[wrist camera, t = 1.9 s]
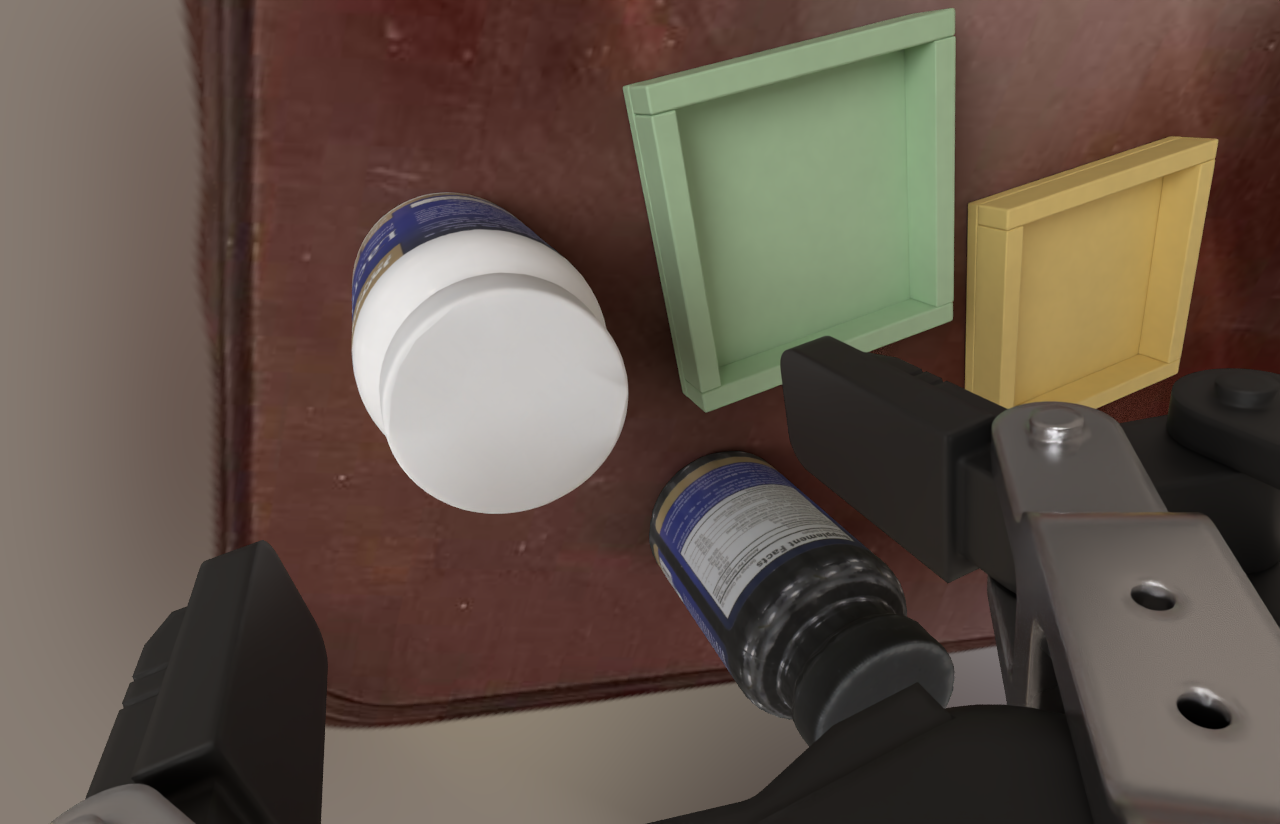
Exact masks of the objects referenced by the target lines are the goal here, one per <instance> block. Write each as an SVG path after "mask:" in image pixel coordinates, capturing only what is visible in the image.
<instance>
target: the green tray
mask: <svg viewBox="0 0 1280 824" xmlns="http://www.w3.org/2000/svg"><path fill="white" fill-rule="evenodd" d="M954 34H955V9H954V8H948V9H942V10H935V11H928V12H922V13H914V14H910V15H906V16H902V17H898V18H894V19H890V20H886V21H882V22H878V23H874V24H870V25H866V26H862V27H858V28H854V29H850V30H846V31H842V32H838V33H834V34H830V35H826V36H822V37H818V38H814V39H810V40H806V41H802V42H798V43H794V44H790V45H786V46H782V47H778V48H774V49H770V50H766V51H762V52H758V53H754V54H750V55H746V56H742V57H738V58H734V59H730V60H726V61H722V62H718V63H714V64H710V65H706V66H702V67H698V68H694V69H690V70H686V71H682V72H678V73H674V74H670V75H666V76H662V77H658V78H654V79H650V80H646V81H642V82H638V83H634V84H630V85H626V86H624V87H623V92H624V97H625V102H626V107H627V112H628V117H629V122H630V127H631V132H632V137H633V142H634V147H635V153H636V158H637V163H638V168H639V173H640V178H641V183H642V188H643V193H644V198H645V203H646V208H647V214H648V219H649V224H650V229H651V234H652V239H653V244H654V249H655V254H656V259H657V264H658V269H659V275H660V280H661V285H662V290H663V295H664V300H665V305H666V310H667V315H668V320H669V325H670V330H671V336H672V341H673V346H674V351H675V356H676V361H677V366H678V371H679V376H680V381H681V386H682V391H683V394H684V395H686V396H687V397H689V398H690V399H691V400H692V401H693V402H694V403H695V404H696V405H697V406H699V407H700V408H701V409H702V410H703V411H704V412H710V411H712V410H715V409H718V408H720V407H723V406H726V405H728V404H731V403H734V402H736V401H739V400H742V399H744V398H747V397H750V396H752V395H755V394H758V393H760V392H763V391H766V390H768V389H771V388H774V387H776V386H779V385H782V378H781V370H780V360H781V355H782V353H783V352H784V351H785V350H787V349H790V348H793V347H795V346H798V345H801V344H804V343H806V342H809V341H812V340H815V339H817V338H820V337H823V336H831V337H833V338H836V339H838V340H840V341H842V342H844V343H846V344H848V345H850V346H852V347H854V348H856V349H858V350H860V351H863V352H870V351H872V350H875V349H878V348H880V347H883V346H886V345H888V344H891V343H894V342H896V341H899V340H902V339H904V338H907V337H910V336H912V335H915V334H918V333H920V332H923V331H926V330H928V329H931V328H934V327H936V326H939V325H942V324H944V323H947V322H950V321H952V320H953V303H952V301H953V300H954V178H955V49H956V37H955V36H953V35H954Z"/></svg>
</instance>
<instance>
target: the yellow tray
mask: <svg viewBox="0 0 1280 824" xmlns="http://www.w3.org/2000/svg"><path fill="white" fill-rule="evenodd" d="M1217 145H1218V139H1210V138H1189V137H1182V138H1181V137H1174V136H1170V137H1167V138H1164V139H1161V140H1158V141H1155V142H1152V143H1149V144H1146V145H1143V146H1140V147H1137V148H1134V149H1131V150H1128V151H1125V152H1122V153H1119V154H1116V155H1113V156H1110V157H1107V158H1104V159H1101V160H1098V161H1095V162H1092V163H1089V164H1086V165H1083V166H1079V167H1076V168H1073V169H1070V170H1067V171H1064V172H1061V173H1058V174H1055V175H1052V176H1049V177H1046V178H1043V179H1040V180H1037V181H1034V182H1031V183H1028V184H1025V185H1022V186H1019V187H1016V188H1013V189H1010V190H1007V191H1004V192H1001V193H998V194H995V195H992V196H989V197H986V198H983V199H980V200H977V201H974V202H971V203H969V204H968V236H967V296H966V355H965V389H966V390H968V391H970V392H972V393H974V394H976V395H979V396H981V397H983V398H985V399H987V400H989V401H992V402H994V403H996V404H998V405H1000V406H1002V407H1004V408H1007V409H1009V408H1012V407H1015V406H1018V405H1022V404H1026V403H1032V402H1044V401H1056V402H1068V403H1075V404H1080V405H1084V406H1088V407H1091V408H1094V409H1096V408H1099V407H1101V406H1103V405H1106V404H1108V403H1110V402H1113V401H1115V400H1117V399H1119V398H1122V397H1124V396H1126V395H1129V394H1131V393H1133V392H1136V391H1138V390H1140V389H1143V388H1145V387H1147V386H1149V385H1152V384H1154V383H1156V382H1159V381H1161V380H1163V379H1166V378H1168V377H1170V376H1172V375H1175V374H1177V373H1178V368H1179V362H1180V357H1181V352H1182V347H1183V341H1184V335H1185V330H1186V324H1187V318H1188V313H1189V307H1190V301H1191V295H1192V290H1193V284H1194V278H1195V273H1196V267H1197V261H1198V256H1199V250H1200V244H1201V238H1202V233H1203V227H1204V221H1205V216H1206V210H1207V204H1208V199H1209V193H1210V187H1211V181H1212V176H1213V170H1214V164H1215V160H1214V158H1215V157H1216V151H1217Z"/></svg>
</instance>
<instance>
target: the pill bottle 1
mask: <svg viewBox="0 0 1280 824" xmlns="http://www.w3.org/2000/svg"><path fill="white" fill-rule="evenodd" d="M352 362H353V369H354V375H355V379H356V383H357V386H358V390H359V393H360V396H361V399H362V401H363V403H364V405H365V407H366V409H367V411H368V413H369V414H370V416H371V418H372V419H373V421H374V422H375V423H376V425H377V426H378V427H379V429H380V430H381V431H382V432H383V434H384V435H385V436H386V437H387V440H388V443H389V446H390V448H391V451H392V453H393V455H394V456H395V458H396V460H397V462H398V463H399V465H400V466H401V468H402V469H403V470H404V471H405V473H406V474H407V475H408V476H409V477H410V478H411V479H412V480H413V481H414V482H415V483H416V484H417V485H418V486H419V487H420V488H422V489H423V490H424V491H426V492H427V493H429V494H430V495H432V496H433V497H435V498H437V499H439V500H441V501H443V502H445V503H447V504H449V505H451V506H454V507H457V508H460V509H463V510H468V511H473V512H480V513H489V514H503V513H514V512H521V511H525V510H530V509H533V508H537V507H540V506H543V505H545V504H548V503H550V502H552V501H554V500H556V499H558V498H560V497H562V496H564V495H566V494H567V493H569V492H571V491H572V490H574V489H575V488H577V487H578V486H580V485H581V484H582V483H583V482H585V481H586V480H587V479H588V478H589V477H590V476H591V475H592V474H593V473H594V472H595V471H596V470H597V469H598V468H599V467H600V466H601V465H602V463H603V462H604V461H605V460H606V458H607V457H608V455H609V454H610V453H611V451H612V449H613V447H614V446H615V444H616V442H617V440H618V438H619V435H620V433H621V431H622V428H623V425H624V421H625V417H626V413H627V406H628V380H627V374H626V370H625V366H624V362H623V359H622V356H621V354H620V351H619V349H618V347H617V345H616V344H615V342H614V340H613V338H612V336H611V335H610V334H609V332H608V331H607V329H606V325H605V321H604V317H603V314H602V311H601V309H600V306H599V304H598V301H597V299H596V297H595V296H594V294H593V292H592V290H591V288H590V287H589V285H588V284H587V282H586V281H585V279H584V278H583V276H582V275H581V274H580V273H579V272H578V271H577V270H576V269H575V268H574V266H573V265H572V264H571V263H570V262H569V261H568V260H567V259H565V258H564V257H563V256H562V255H561V254H559V253H558V252H557V251H556V250H555V249H553V248H552V247H551V246H549V245H548V244H547V243H546V242H545V241H543V240H542V239H541V238H540V237H539V236H537V235H536V234H535V233H534V232H533V231H532V230H531V229H529V228H528V227H527V226H526V225H524V224H523V223H522V222H521V221H520V220H518V219H517V218H516V217H514V216H513V215H512V214H511V213H509V212H508V211H506V210H505V209H503V208H501V207H500V206H498V205H496V204H494V203H492V202H490V201H487V200H485V199H482V198H479V197H476V196H472V195H467V194H461V193H449V192H445V193H433V194H428V195H423V196H419V197H417V198H414V199H411V200H409V201H407V202H404V203H402V204H401V205H399V206H397V207H396V208H394V209H392V210H391V211H390V212H388V213H387V214H386V215H385V216H383V217H382V218H381V219H380V220H379V221H378V222H377V223H376V224H375V225H374V227H373V228H372V229H371V230H370V232H369V233H368V235H367V236H366V238H365V239H364V241H363V243H362V245H361V248H360V250H359V252H358V255H357V258H356V261H355V266H354V271H353V280H352Z"/></svg>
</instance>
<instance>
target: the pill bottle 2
mask: <svg viewBox="0 0 1280 824" xmlns="http://www.w3.org/2000/svg"><path fill="white" fill-rule="evenodd" d="M649 541H650V546H651V549H652V554H653V556H654V558H655V560H656V562H657V564H658V565H659V566H660V567H661V569H662V571H663V573H664V574H665V576H666V577H667V579H668V580H669V582H670V583H671V585H672V586H673V588H674V589H675V591H676V592H677V594H678V595H679V597H680V598H681V600H682V601H683V603H684V604H685V606H686V607H687V609H688V610H689V612H690V613H691V615H692V616H693V618H694V619H695V621H696V622H697V624H698V625H699V627H700V628H701V630H702V631H703V633H704V634H705V636H706V637H707V639H708V640H709V642H710V643H711V645H712V646H713V648H714V649H715V651H716V652H717V654H718V656H719V657H720V659H721V660H722V662H723V663H724V665H725V666H726V668H727V669H728V671H729V672H730V674H731V675H732V677H733V678H734V680H735V681H736V683H737V684H738V686H739V687H740V689H741V690H742V691H743V693H744V694H745V696H746V697H747V698H749V699H750V700H751V702H752V703H753V704H755V705H756V706H757V707H758V708H760V709H761V710H764V711H765V712H768V713H770V714H772V715H775V716H777V717H780V718H787V719H793V721H794V723H795V725H796V728H797V730H798V731H799V733H800V735H801V736H802V738H803V739H804V740H805V742H806V743H807V744H808V746H809V747H810V746H811V745H812V744H813V743H814V742H815V741H816V740H818V739H819V738H820V737H821V736H822V735H823V734H824V733H825V732H826V731H827V730H828V729H829V728H831V727H832V726H833V725H835V724H837V723H839V722H840V721H842V720H844V719H846V718H848V717H850V716H852V715H854V714H856V713H858V712H860V711H862V710H864V709H866V708H868V707H870V706H872V705H874V704H876V703H877V702H879V701H881V700H883V699H885V698H887V697H889V696H891V695H893V694H895V693H897V692H899V691H901V690H903V689H905V688H907V687H909V686H911V685H913V684H914V683H916V682H919V683H920V684H921V685H922V686H923V687H924V688H925V690H926V691H927V692H928V693H929V694H930V695H931V696H932V697H933V698H934V699H935V700H936V701H937V702H938V703H939V704H940V705H941V706H942V707H943V708H944V709H945V708H946V706H947V704H948V702H949V699H950V697H951V694H952V691H953V683H954V666H953V663H952V660H951V658H950V656H949V654H948V653H947V651H946V650H945V648H944V647H943V646H942V645H941V644H940V643H939V642H938V641H936V640H935V639H934V638H933V637H932V636H931V635H930V634H929V633H928V632H927V631H926V630H925V629H924V628H923V627H922V626H921V625H920V624H919V623H918V622H916V621H914V620H912V619H910V618H908V617H907V608H906V600H905V597H904V593H903V590H902V588H901V584H900V582H899V581H898V579H897V578H896V576H895V575H894V573H893V572H892V571H891V570H890V568H889V567H888V566H887V565H886V564H885V563H884V562H883V561H882V560H881V559H880V558H878V557H877V556H876V555H874V554H873V553H872V552H871V551H870V550H869V549H867V548H866V547H865V546H864V545H863V544H862V543H861V542H859V541H858V540H857V539H856V538H855V537H853V536H852V535H851V534H850V533H849V532H848V531H846V530H845V529H844V528H843V527H842V526H841V525H840V524H838V523H837V522H836V521H835V520H834V519H833V518H831V517H830V516H829V515H828V514H827V513H826V512H825V511H824V510H822V509H821V508H820V507H819V506H818V505H817V504H815V503H814V502H813V501H812V500H811V499H810V498H808V497H807V496H806V495H805V494H804V493H803V492H801V491H800V490H799V489H798V488H797V487H796V486H794V485H793V484H792V483H791V482H790V481H789V480H787V479H786V478H785V477H784V476H783V475H782V474H781V473H779V472H778V471H777V470H776V469H775V468H773V467H772V466H771V465H770V464H768V463H767V462H766V461H765V460H764V459H762V458H760V457H758V456H755V455H753V454H751V453H746V452H743V451H727V452H718V453H713V454H709V455H706V456H704V457H701V458H699V459H697V460H695V461H693V462H691V463H690V464H688V465H687V466H685V467H684V468H683V469H681V470H680V471H678V472H677V473H676V474H675V476H674V477H672V478H671V480H670V481H669V482H668V483H667V485H666V486H665V487H664V488H663V490H662V491H661V493H660V495H659V497H658V499H657V501H656V503H655V506H654V508H653V511H652V518H651V522H650V532H649Z"/></svg>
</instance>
